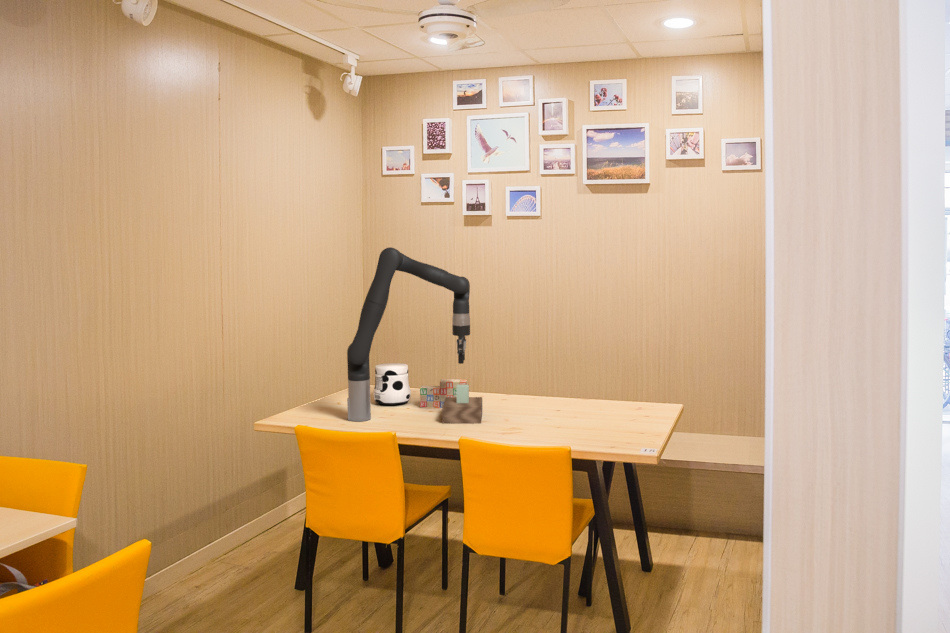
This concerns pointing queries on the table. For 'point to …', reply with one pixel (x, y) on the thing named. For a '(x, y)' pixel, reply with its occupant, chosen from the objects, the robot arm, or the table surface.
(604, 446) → the table surface
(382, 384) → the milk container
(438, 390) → the stack of blocks
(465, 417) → the block
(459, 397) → the sage block
